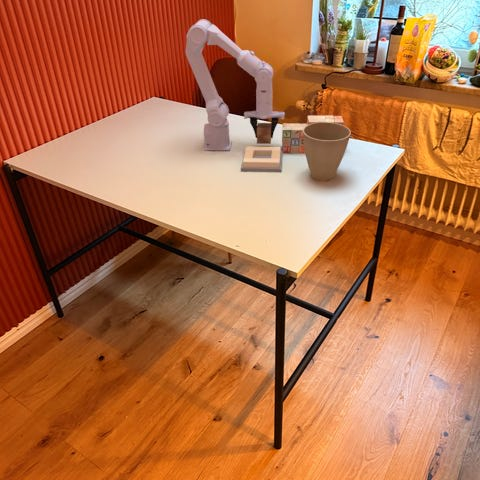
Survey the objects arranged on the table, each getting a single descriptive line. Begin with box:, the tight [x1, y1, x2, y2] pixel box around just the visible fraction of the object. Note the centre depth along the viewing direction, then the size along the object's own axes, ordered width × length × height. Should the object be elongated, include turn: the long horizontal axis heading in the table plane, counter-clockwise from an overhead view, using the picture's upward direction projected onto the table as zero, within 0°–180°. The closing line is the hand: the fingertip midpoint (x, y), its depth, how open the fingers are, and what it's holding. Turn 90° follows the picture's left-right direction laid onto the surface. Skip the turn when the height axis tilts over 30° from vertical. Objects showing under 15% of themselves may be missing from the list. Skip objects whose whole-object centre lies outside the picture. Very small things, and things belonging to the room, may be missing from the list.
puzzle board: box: [240, 145, 284, 173], centre depth 159 cm, size 14×14×3 cm
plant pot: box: [303, 122, 352, 182], centre depth 146 cm, size 15×15×16 cm
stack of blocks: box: [281, 114, 344, 154], centre depth 164 cm, size 21×6×12 cm, turn 85°
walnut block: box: [256, 122, 272, 145], centre depth 166 cm, size 5×5×6 cm
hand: (264, 136), depth 167 cm, fingers closed on walnut block, 5 cm apart
